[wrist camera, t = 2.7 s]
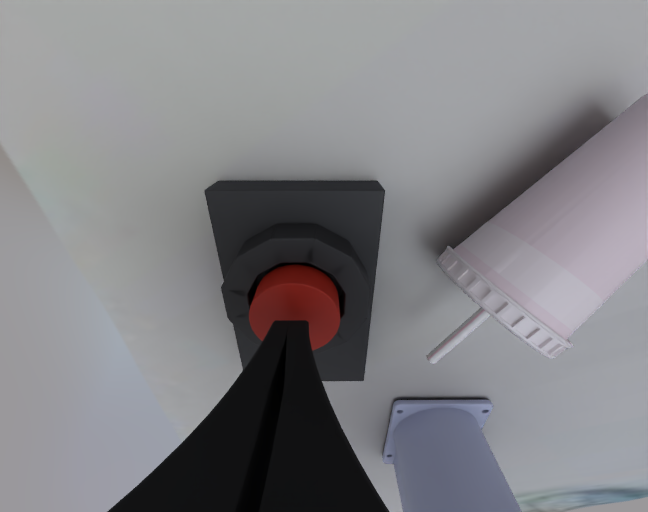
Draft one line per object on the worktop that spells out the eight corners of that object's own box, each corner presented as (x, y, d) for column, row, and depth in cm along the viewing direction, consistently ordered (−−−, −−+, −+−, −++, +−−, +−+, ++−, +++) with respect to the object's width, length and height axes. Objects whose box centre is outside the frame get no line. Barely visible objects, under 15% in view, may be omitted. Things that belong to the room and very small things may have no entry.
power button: (337, 329, 14) (339, 353, 13) (261, 329, 14) (254, 353, 13) (339, 263, 12) (341, 283, 11) (251, 263, 12) (242, 283, 11)
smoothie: (607, 146, 14) (421, 323, 19) (585, 53, 10) (359, 303, 15) (814, 197, 9) (495, 418, 14) (911, 58, 6) (431, 423, 10)
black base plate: (360, 359, 20) (367, 405, 17) (251, 359, 20) (238, 406, 17) (377, 180, 13) (394, 202, 10) (217, 180, 13) (186, 202, 10)
